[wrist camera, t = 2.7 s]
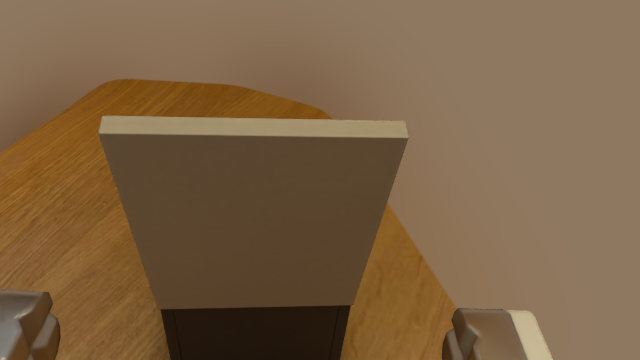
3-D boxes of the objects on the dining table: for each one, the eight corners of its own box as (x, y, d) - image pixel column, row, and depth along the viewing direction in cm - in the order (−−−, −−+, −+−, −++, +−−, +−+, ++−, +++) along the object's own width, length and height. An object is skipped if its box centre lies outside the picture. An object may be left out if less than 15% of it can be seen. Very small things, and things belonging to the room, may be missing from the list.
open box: (192, 223, 52) (184, 153, 46) (321, 222, 54) (329, 155, 48) (173, 374, 41) (159, 307, 35) (338, 368, 42) (351, 303, 36)
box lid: (101, 114, 22) (97, 133, 21) (405, 120, 23) (409, 137, 23) (159, 295, 35) (157, 309, 34) (351, 291, 36) (353, 305, 36)
